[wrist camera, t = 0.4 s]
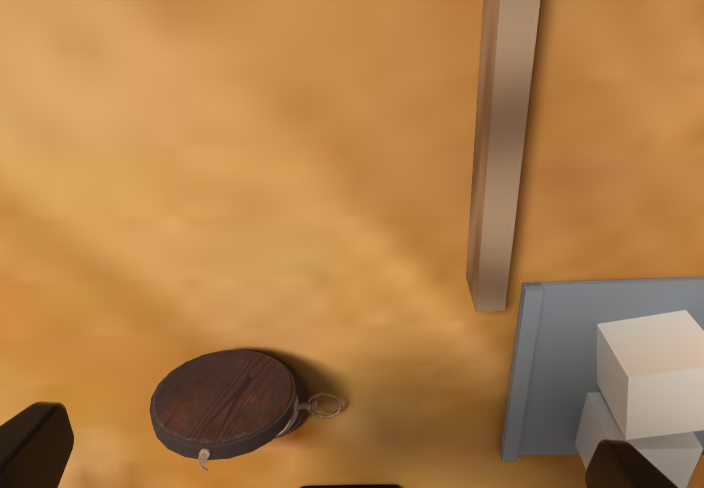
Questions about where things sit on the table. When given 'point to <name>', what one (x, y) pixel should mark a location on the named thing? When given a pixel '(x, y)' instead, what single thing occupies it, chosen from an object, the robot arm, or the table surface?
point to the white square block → (653, 373)
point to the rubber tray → (574, 352)
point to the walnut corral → (499, 145)
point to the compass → (229, 404)
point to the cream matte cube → (637, 442)
